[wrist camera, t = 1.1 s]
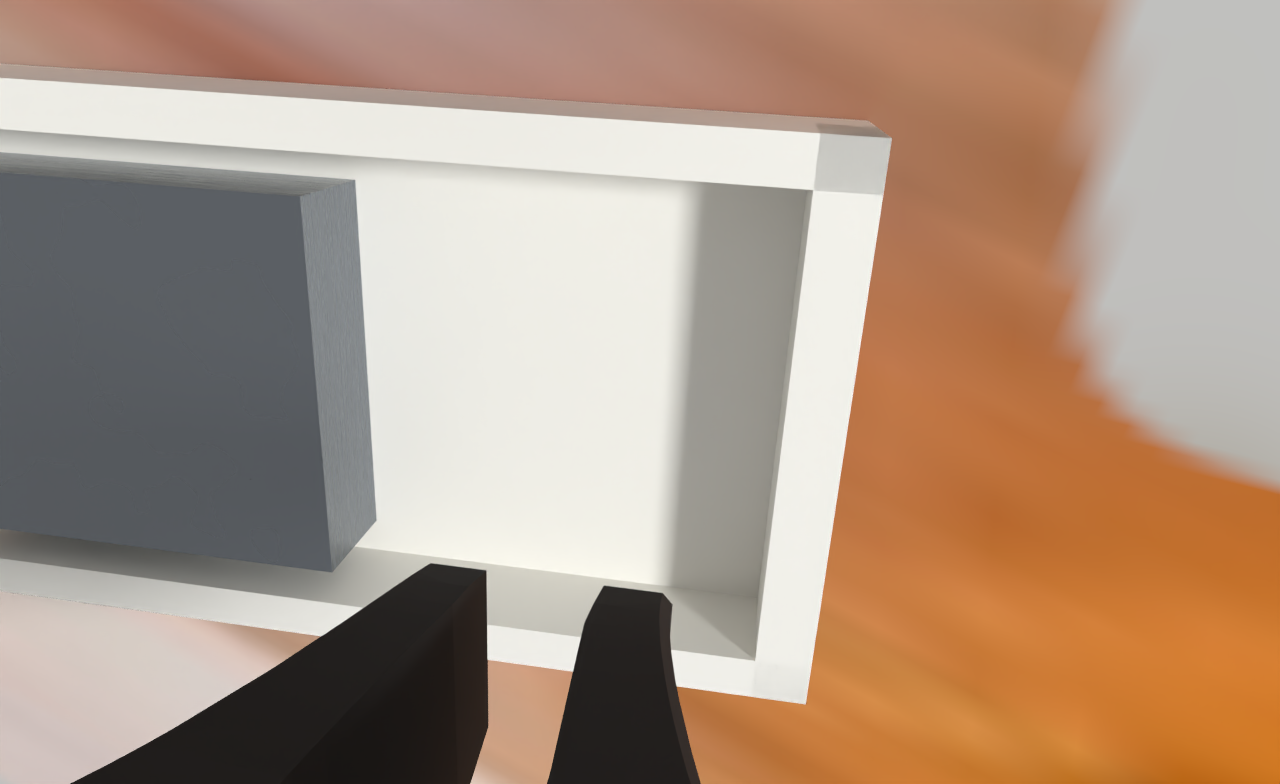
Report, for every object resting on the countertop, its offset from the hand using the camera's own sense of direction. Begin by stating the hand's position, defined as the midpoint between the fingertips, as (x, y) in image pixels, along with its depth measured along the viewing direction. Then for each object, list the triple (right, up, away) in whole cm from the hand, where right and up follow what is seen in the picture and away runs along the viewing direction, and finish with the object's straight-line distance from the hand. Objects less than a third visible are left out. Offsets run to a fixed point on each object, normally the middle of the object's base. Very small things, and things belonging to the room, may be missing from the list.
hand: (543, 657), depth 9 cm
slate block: (-8, +4, +8) cm, 12 cm away
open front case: (-4, +4, +9) cm, 11 cm away
